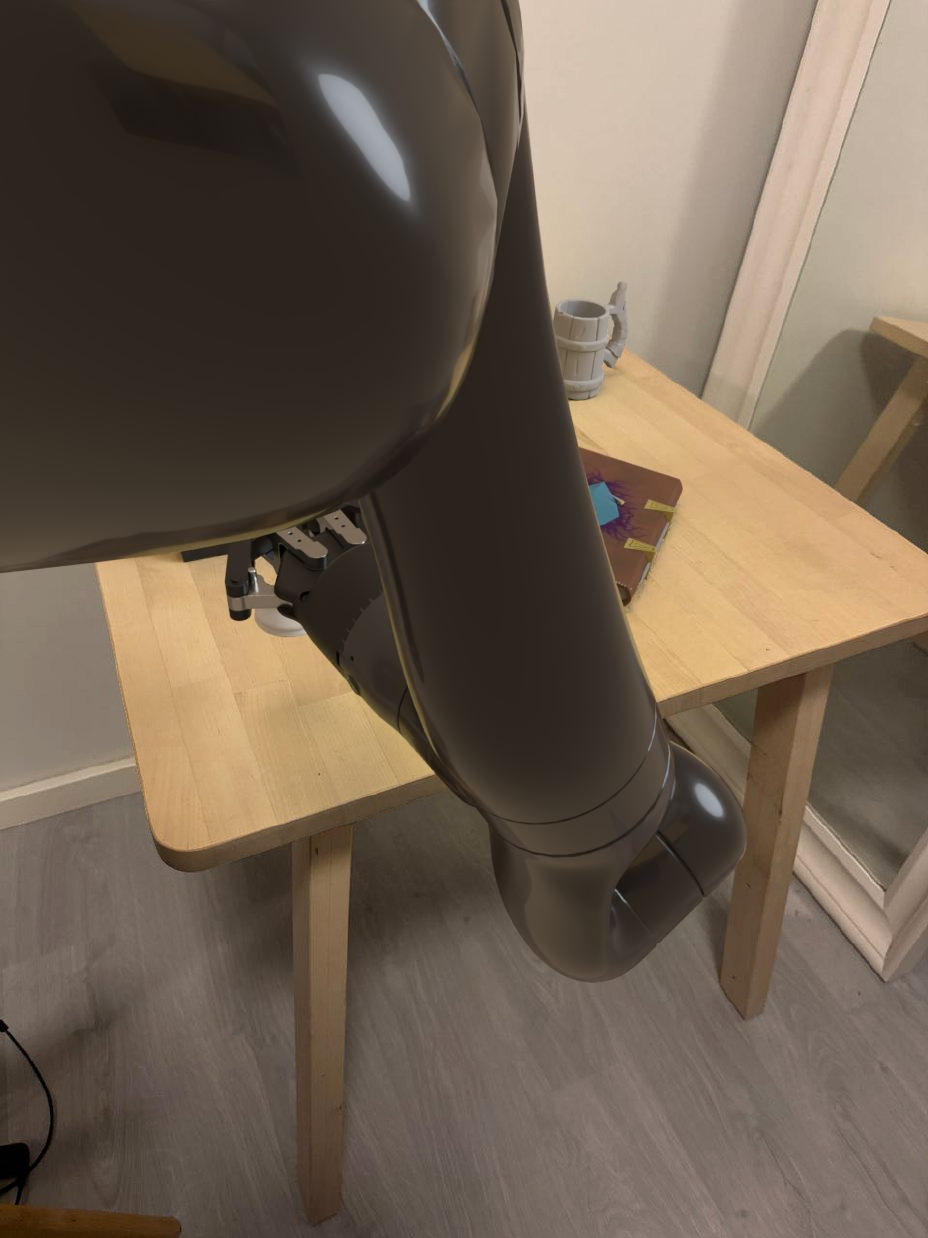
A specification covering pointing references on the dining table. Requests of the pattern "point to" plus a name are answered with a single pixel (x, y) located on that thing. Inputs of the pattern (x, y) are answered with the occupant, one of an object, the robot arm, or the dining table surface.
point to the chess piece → (277, 623)
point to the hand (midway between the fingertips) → (260, 494)
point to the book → (630, 514)
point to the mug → (589, 340)
